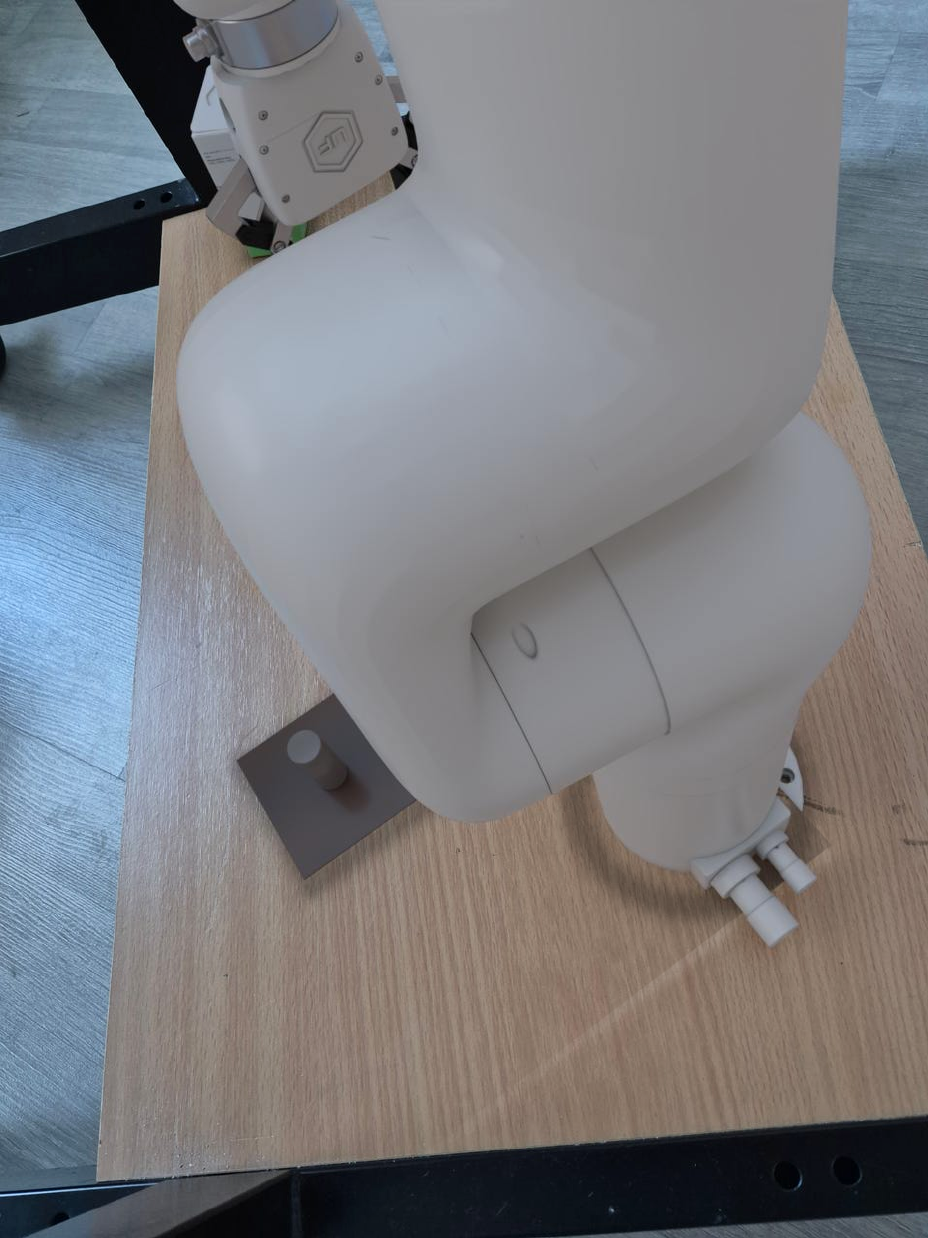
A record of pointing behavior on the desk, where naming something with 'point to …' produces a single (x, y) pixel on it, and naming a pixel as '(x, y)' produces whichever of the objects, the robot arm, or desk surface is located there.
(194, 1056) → the desk surface
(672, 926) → the desk surface
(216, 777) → the desk surface
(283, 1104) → the desk surface
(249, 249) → the ink box
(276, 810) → the peg stand
